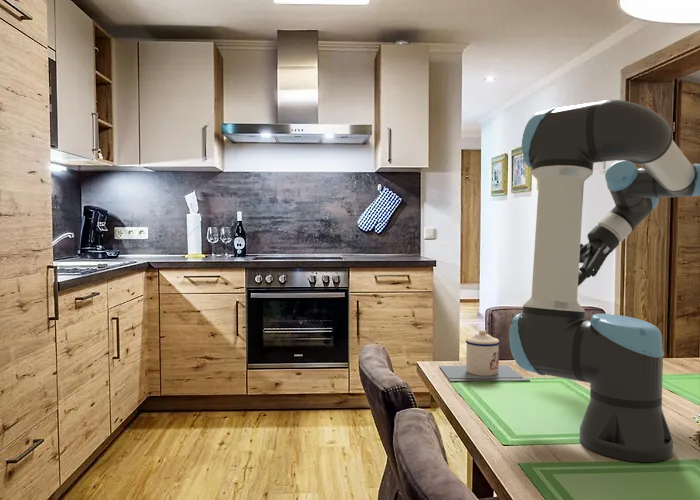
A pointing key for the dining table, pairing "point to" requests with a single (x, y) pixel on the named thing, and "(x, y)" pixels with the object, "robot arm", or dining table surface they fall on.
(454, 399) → the dining table surface
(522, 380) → the black line strip
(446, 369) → the slate mat
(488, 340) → the teacup with lid
